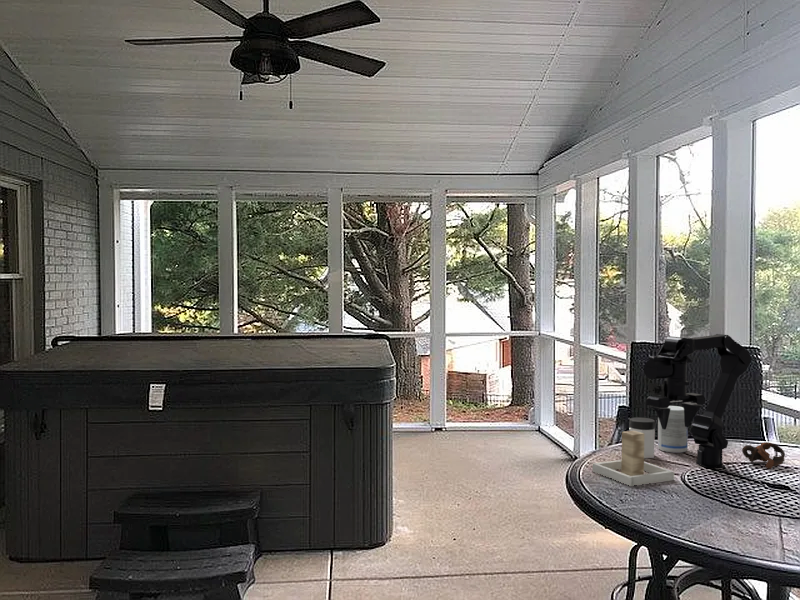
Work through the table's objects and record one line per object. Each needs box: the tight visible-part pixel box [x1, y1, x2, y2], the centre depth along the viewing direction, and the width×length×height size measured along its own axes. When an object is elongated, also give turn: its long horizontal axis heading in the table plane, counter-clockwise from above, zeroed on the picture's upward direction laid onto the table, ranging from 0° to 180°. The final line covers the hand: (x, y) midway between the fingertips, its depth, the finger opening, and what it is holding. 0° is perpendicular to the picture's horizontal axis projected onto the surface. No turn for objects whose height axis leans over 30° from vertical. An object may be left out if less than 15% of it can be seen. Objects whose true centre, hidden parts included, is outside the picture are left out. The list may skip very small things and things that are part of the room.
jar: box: [628, 417, 656, 459], centre depth 231 cm, size 9×8×12 cm
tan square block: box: [620, 430, 645, 476], centre depth 206 cm, size 4×4×13 cm
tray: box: [592, 459, 675, 487], centre depth 207 cm, size 16×16×2 cm
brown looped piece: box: [741, 441, 786, 470], centre depth 220 cm, size 12×10×8 cm
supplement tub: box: [657, 405, 689, 454], centre depth 238 cm, size 10×10×15 cm
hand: (675, 428), depth 213 cm, fingers open, 9 cm apart
